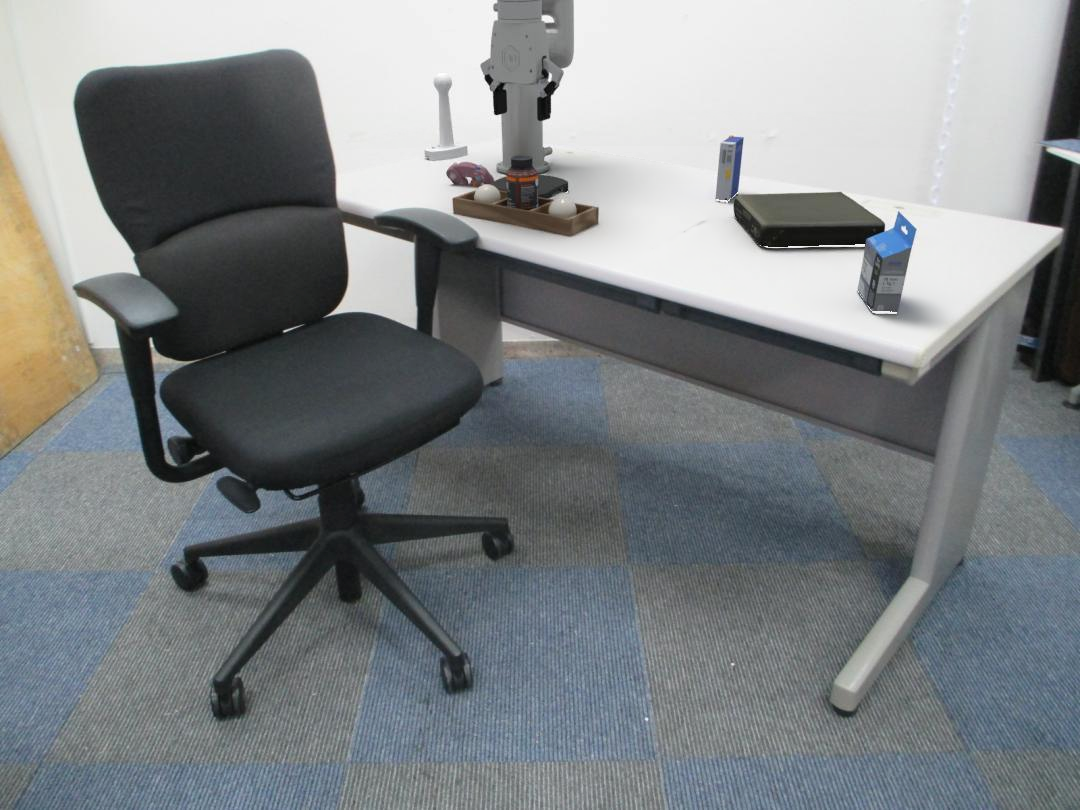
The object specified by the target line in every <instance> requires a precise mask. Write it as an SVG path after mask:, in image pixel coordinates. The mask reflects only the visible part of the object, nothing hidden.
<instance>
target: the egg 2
mask: <svg viewBox="0 0 1080 810" xmlns="http://www.w3.org/2000/svg"><path fill="white" fill-rule="evenodd" d="M574 203H575V202H574V201H573V200H572V199H571V198H568V197H567V196H566V197H565V196H560V197H556V198H555V199H554V200H553V201H552V203H551V204H550V206H549V211H548V213H549V214H550V215H555V216H561V217H566V218H570V217H572V216H574V215H576V214H577V209H576V206H575V204H574Z"/></svg>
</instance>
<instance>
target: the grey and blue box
mask: <svg viewBox="0 0 1080 810" xmlns="http://www.w3.org/2000/svg"><path fill="white" fill-rule="evenodd" d="M902 227H903V228H905V230H906V232H907V233H905V232H904V231H903V229H902ZM916 233H917V228H916V227H915V226H914V225H913V224H912V223H911V222H910V221H909V219H907V218H906V217H905V216H904V215H903V214H902V213H901V212H900V211H899V210H898V211H897V214H896V219H895V222H894V226H893V228H890V229H888V230H885V232H882V233H880V234H877V235H875V236H872V237H870V238H867V239H866V244H865V248H864V252H863V256H862V263H861V267H860V268H861V269H860V274H859V281H858V285H857V289H858V291H859V293H860V294H861V296H862V297H863V299H864V301H865V302H866V303H867V305H868V306H869V307H870V309H871V310H872V311H890V312H891V311H892V312H898V313H899V309H900V303H901V299H902V294H903V291H904V286H905V285H904V284H905V281H906V276H907V272H908V271H907V270H908V268H909V267H908V266H909V262H910V261H909V260H910V257H911V253H912V252H911V251H912V248H913V245H914V241H915V237H916ZM859 293H858V294H859ZM861 296H860V297H861ZM863 299H862V300H863ZM864 301H863V302H864ZM865 302H864V303H865ZM867 305H866V306H867Z"/></svg>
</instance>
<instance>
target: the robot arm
mask: <svg viewBox="0 0 1080 810" xmlns="http://www.w3.org/2000/svg"><path fill="white" fill-rule="evenodd" d="M574 5H575V1H574V0H496V2H495V3H493V6H492V8H493V9H492V10H493V12H497V19H495V20H493V25H492V29H491V30H492V31H491V37H490V56H489V58H488V59H486V60H484V61H483V62H481V63H480V69H481V71H482V74H483V76H484V81H485V82H486V83H487V85H488V86H489V87H488V88H489V90H490V92H492V101H493V102H492V104H493V105H492V106H493V115H494V116H500V118H501V145H502V147H501V149H502V152H501V153H502V161H500V162H498V163H497V164H496V171H497V172H499V173H501V174H505V175H506V173H507V171H508V169H510V167H511V157H513V156H518V155H528V156H531V157H532V161H533V164H532V165H533V167H534V168H535V169H536V170H537V172H538V174H542V173H545V171H546V172H547V170H548V171H549V170H550V167H551V166H550V165H551V164H550V163H549V162H548V161H546V160H545V158H546V156H547V157H548V156H550V155H552V154H553V148H552V147H551V146H546V147H545V146H544V139H543V137H544V136H543V135H544V134H543V133H544V131H543V129H544V128H543V125H544V124H543V122H544V121H546V120H549V119H551V113H552V96H554V94H555V91H557V89H558V88H559V87H560V84H561V81H562V80H563V76H564V74H565V73H564V70H563V69H566V68H568V67H570V66H571V65H572V62H573V60H574V54H575V19H574V18H575V14H574V13H575V8H574V7H575V6H574ZM543 16H549V17H550V18H552V20H553V22H545V20H543V19H542V18H543ZM550 74H551V78H550ZM549 78H550V81H549Z"/></svg>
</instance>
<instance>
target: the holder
mask: <svg viewBox="0 0 1080 810" xmlns="http://www.w3.org/2000/svg"><path fill="white" fill-rule="evenodd" d="M476 190H477V189H475V190H471V191H469V192H467V193H464V194H460V195H457V196H454V197H452V211H453V212H452V213H453V214H454V215H458V216H463V217H464V216H465V217H467V218H474V219H479V220H484V221H488V222H494V223H499V224H504V225H509V226H514V227H519V228H520V227H521V228H525V229H529V230H535V231H540V232H544V233H545V232H546V233H550V234H556V235H561V236H564V237H570V238H571V237H573V236H574V235H576V234H578V233H580V232H582V231H585V230H587V229H589V228H592V227H595V226H596V225H598V224H599V213H600V207H598V206H593V205H590V204H589V205H588V204H583V203H576V202H574V204H575V206H576V209H577V214H576V215H574V216H572V217H570V218H566V217H561V216H555V215H550V214H549V213H548V211H549V206H550V204H551V203H552V201H553V200H555V199H553V198H552V199H551V198H542V197H538V203H539V204H538V206H539V207H536V208H534V209H531V210H529V211H528V210H523V209H517V208H512V207H507V191H501V190H499V192H500V195H501V200H499V201H497V202H494V203H491V204H490V203H485V202H479V201H474V194H475V192H476Z"/></svg>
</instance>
